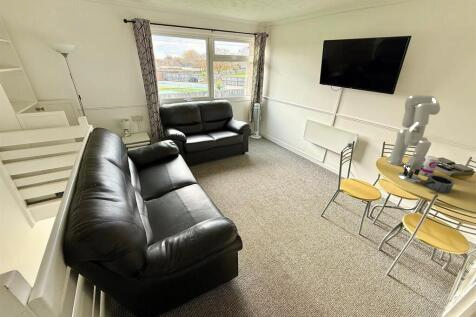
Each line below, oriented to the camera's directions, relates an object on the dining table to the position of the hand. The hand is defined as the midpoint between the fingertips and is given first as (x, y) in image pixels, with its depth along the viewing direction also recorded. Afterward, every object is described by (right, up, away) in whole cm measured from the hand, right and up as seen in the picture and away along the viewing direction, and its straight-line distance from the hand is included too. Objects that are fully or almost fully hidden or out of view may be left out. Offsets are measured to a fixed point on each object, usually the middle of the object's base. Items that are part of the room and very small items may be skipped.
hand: (410, 175), depth 165 cm
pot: (+8, -9, -11) cm, 17 cm away
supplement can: (+18, 0, +7) cm, 20 cm away
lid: (0, -3, +1) cm, 3 cm away
